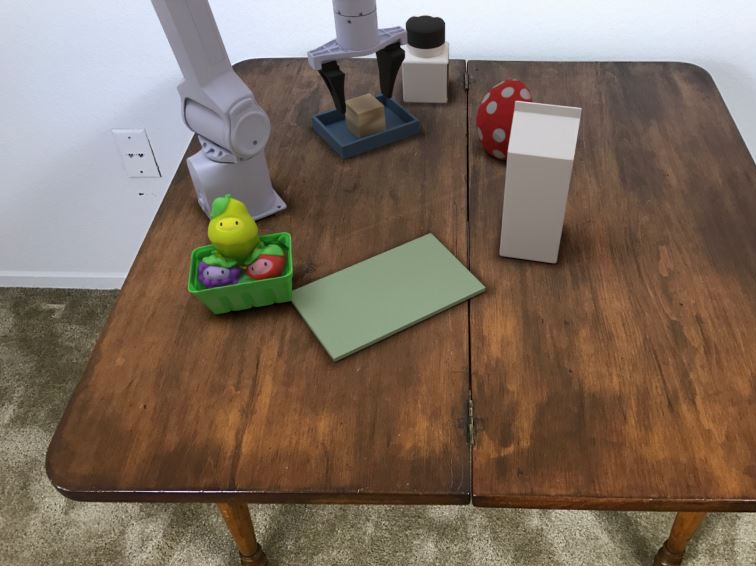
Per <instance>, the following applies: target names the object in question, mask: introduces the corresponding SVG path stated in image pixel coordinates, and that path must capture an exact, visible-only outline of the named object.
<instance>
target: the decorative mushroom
mask: <svg viewBox="0 0 756 566" xmlns="http://www.w3.org/2000/svg"><path fill="white" fill-rule="evenodd" d="M515 101H522V102H531V103H534V101H533V97H532V93H531V91H530V89H529V88H528V87H527V85H526V84H525V83H524V82H523V81H521V80H520V79H514V78H509V79H505V80H502V81H501V82H499V83H497V84H496V85H494V86H492V87H491V88H490V89H489V90H488V91H487V93H485V95H484V96H483V98H482V99H481V101H480V104H479V106H478V109H477V111H476V112H477V113H476V117H475V119H476V122H475V123H476V124H475V127H476V134H477V137H478V140H479V142H480V144H481V145H482V147H483V148H484V149H485V151H486V152H487V153H488V154H489V155H491V157H493V158H496V159H497V160H500V161H504V160H507V156H508V147H509V141H510V135H511V128H512V122H513V116H514V109H515Z"/></svg>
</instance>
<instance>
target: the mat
mask: <svg viewBox="0 0 756 566" xmlns="http://www.w3.org/2000/svg"><path fill="white" fill-rule="evenodd" d="M485 292H486V286H485V285H484V284H483V283H482V282H481V281H480V280H479V279H478V278H477V277H476V276H475V275H474V274H473V273H472V272H471V271H470V270H469V269H468V268H467V267H466V266H465V265H463V263H462V262H461V261H460V260H458V258H457V257H455V255H454V254H453V253H452V252H451V251H449V249H448V248H447V247H445V245H443V244H442V243H441V241H439V239H437V238H436V237H435V236H434V234H432V232H430V233H428V234H424V235H423V236H420V237H417V238H415V239H413V240H411V241H408V242H406V243H403V244H401V245H398V246H396V247H393V248H392V249H391V248H390V249H389V250H386V251H384V252H382V253H379V254H377V255H374V256H372V257H370V258H368V259H367V258H366V259H365V260H363V261H360V262H358V263H355V264H353V265H351V266H350V265H349V266H348V267H346V268H344V269H341V270H339V271H335V272H334V273H331V274H329V275H327V276H325V277H322V278H320V279H317V280H315V281H311V282H310V283H308V284H305V285H302V286H301V287H298V288H296V289H292V300H291V301H290V302H291V304H292V305H293V306H294V308H295V309H296V311H297V312H298V314H299V315H300V316H301V318H302V319H303V321H304V322H305V323H306V325H307V326H308V328H309V329H310V330H311V331H312V333H313V335H314V336H315V337H316V338H317V340H318V342H319V343H320V345H321V346H322V347H323V348H324V350H325V352H326V353H327V354H328V355H329V357H330V358H331V360H332V361H333V362H334V363H336V362H338V361H341V360H342V359H344V358H346V357H349V356H350V355H353V354H356V353H357V352H359V351H361V350H364V349H365V348H367V347H370V346H372V345H374V344H377V343H379V342H380V341H382V340H385V339H386V338H387V339H388V338H389V337H391V336H393V335H396V334H398V333H400V332H402V331H404V330H405V329H408V328H410V327H413V326H414V325H416V324H418V323H421V322H422V321H425V320H427V319H429V318H431V317H433V316H435V315H437V314H439V313H441V312H445V311H446V310H448V309H451V308H452V307H455V306H457V305H458V304H462V302H465V301H468V300H470V299H471V298H473V297H475V296H478V295H480V294H482V293H485Z"/></svg>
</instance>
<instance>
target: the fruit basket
mask: <svg viewBox="0 0 756 566" xmlns="http://www.w3.org/2000/svg"><path fill="white" fill-rule="evenodd" d="M210 217H211V220H209V224H208V227H207V236H208V240H209V241H210V243H211V244H208V245H203V246H198V247H196V248H195V249H193V250H192V252H191V255H190V263H189V264H190V265H189V273H188V281H187V290H188V292H189V293H191V294H192V295H193V296H195V297H196V298H198V299H199V300H200V301H201V302H202V303H203V304H204V305H205V306H206V307H207V308H208V309H209V310H210V311H211V312H212V313H213V314H214V315H221V314H225V313H229V312H231V311H233V312H235V311H236V312H237V311H243V310H249V309H251V308H253V307H254V308H261V307H265V306H271V305H273V304H282V303H287V302H291V300H292V291H293V279H292V278H293V276H294V267H293V253H292V251H293V250H292V235H291V234H290V233H289V232H287V231H286V232H285V231H283V232H277V233H271V234H265V235H259V228H258V224H257V223H256V220H255V221H254V220H253V218H252V217H251V216H250V215H249V213H248V211H247V208H246V206H245V205H244V203H242V202H240V201H238V200H236V199H233V198H232V196H231V195H225V198H223V197H219V198H216V199H215V200H214V201H213V203H212V212H211V214H210Z"/></svg>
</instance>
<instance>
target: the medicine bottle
mask: <svg viewBox="0 0 756 566" xmlns="http://www.w3.org/2000/svg"><path fill="white" fill-rule="evenodd" d="M405 30H406V31H407V44H406V45H403V49H404V50H405V59H404V61H403V62H402V64H401V76H402V95H403V96H402V98H403V102H404V103H427V104H429V103H432V104H433V103H435V104H436V103H437V104H447V103H448V102H449V89H450V87H449V86H450V42H449V41H446V22H445V20H444V19H443V18H442V17H441V16H439V15H435V14H432V13H418V14H415V15H413V16H410V17H409V18H408V19H407V20H406V21H405Z"/></svg>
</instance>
